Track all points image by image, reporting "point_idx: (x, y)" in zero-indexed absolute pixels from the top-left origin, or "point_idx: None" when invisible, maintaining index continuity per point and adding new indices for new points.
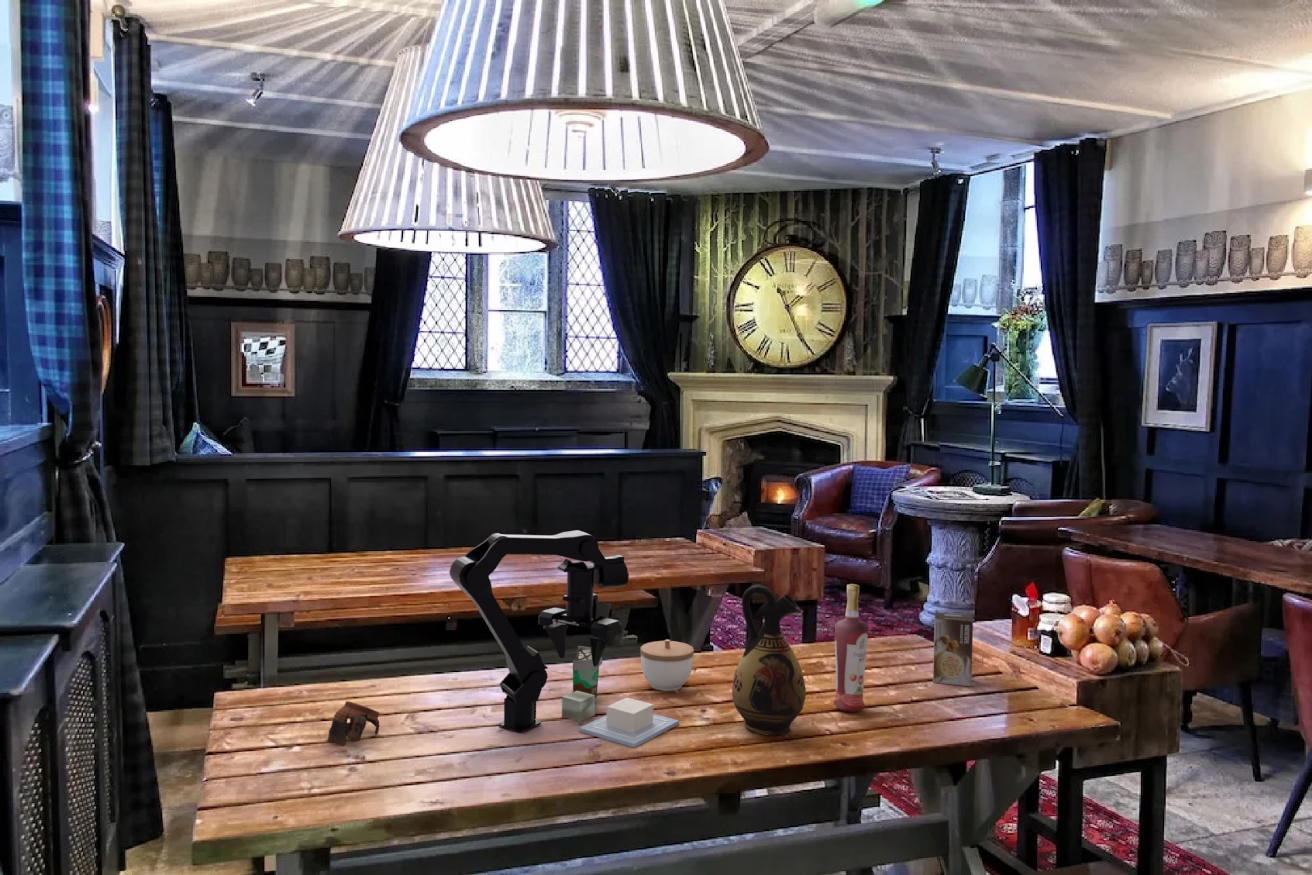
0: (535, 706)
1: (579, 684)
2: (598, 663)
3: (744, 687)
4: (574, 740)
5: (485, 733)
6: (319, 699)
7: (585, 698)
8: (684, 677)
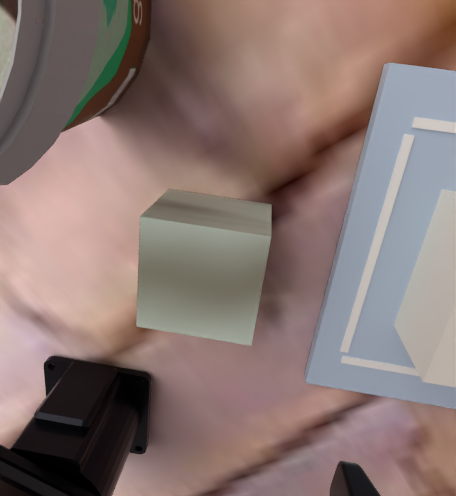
0: (99, 409)
1: (83, 111)
2: (369, 481)
3: None
4: (325, 433)
5: None
6: None
7: (252, 301)
8: None
